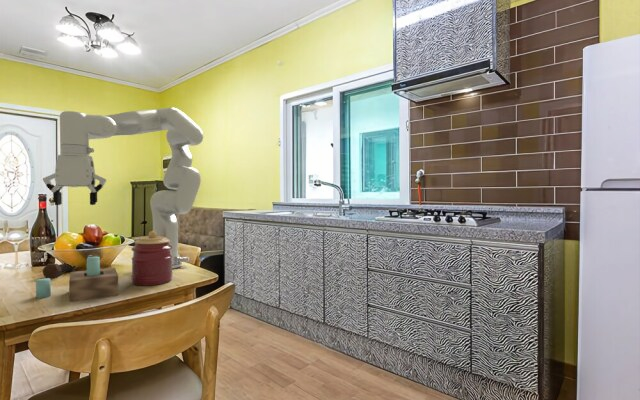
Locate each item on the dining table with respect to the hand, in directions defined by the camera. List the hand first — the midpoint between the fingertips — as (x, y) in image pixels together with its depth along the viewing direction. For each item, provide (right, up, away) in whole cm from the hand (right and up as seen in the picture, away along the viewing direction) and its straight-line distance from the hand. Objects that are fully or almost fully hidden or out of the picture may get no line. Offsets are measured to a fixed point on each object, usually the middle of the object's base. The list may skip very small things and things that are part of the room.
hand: (75, 204), depth 112 cm
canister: (+20, -27, +10) cm, 35 cm away
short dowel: (-3, -27, -9) cm, 29 cm away
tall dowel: (+9, -27, -5) cm, 29 cm away
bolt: (-17, -27, +19) cm, 37 cm away
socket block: (+9, -27, -5) cm, 29 cm away
